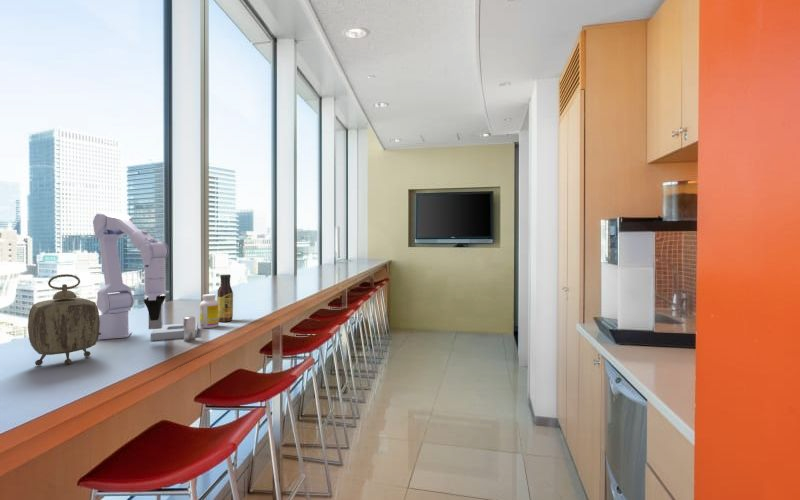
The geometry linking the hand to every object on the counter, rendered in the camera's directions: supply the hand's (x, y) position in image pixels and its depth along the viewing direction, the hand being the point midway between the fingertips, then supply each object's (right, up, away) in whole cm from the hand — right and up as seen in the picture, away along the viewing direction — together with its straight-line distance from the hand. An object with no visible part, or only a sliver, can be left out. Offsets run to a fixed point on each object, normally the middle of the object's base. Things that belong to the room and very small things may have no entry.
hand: (155, 318), depth 133 cm
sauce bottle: (+7, -8, +38) cm, 39 cm away
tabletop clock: (-12, -9, -21) cm, 26 cm away
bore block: (0, -8, +13) cm, 15 cm away
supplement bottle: (+6, -8, +26) cm, 28 cm away
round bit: (+9, -8, +4) cm, 13 cm away
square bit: (0, -3, 0) cm, 3 cm away
